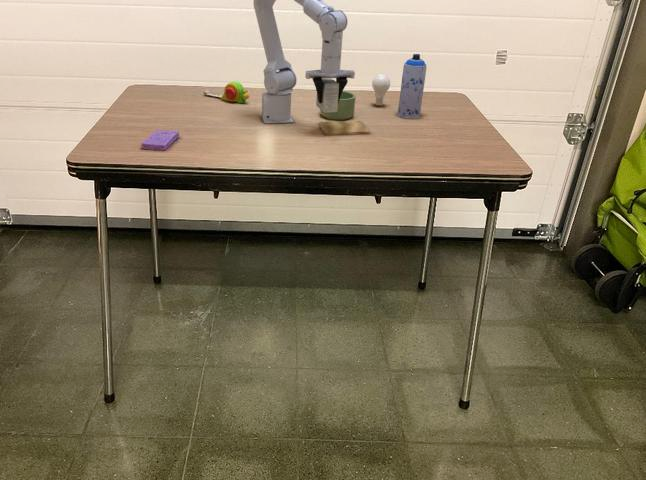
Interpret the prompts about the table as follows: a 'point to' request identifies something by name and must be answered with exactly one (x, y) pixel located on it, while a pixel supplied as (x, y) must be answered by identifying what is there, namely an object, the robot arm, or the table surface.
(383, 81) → the lightbulb
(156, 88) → the table surface
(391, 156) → the table surface
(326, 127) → the board
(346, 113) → the pot
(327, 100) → the medicine box
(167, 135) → the sponge
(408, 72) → the aerosol can
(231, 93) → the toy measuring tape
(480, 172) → the table surface
